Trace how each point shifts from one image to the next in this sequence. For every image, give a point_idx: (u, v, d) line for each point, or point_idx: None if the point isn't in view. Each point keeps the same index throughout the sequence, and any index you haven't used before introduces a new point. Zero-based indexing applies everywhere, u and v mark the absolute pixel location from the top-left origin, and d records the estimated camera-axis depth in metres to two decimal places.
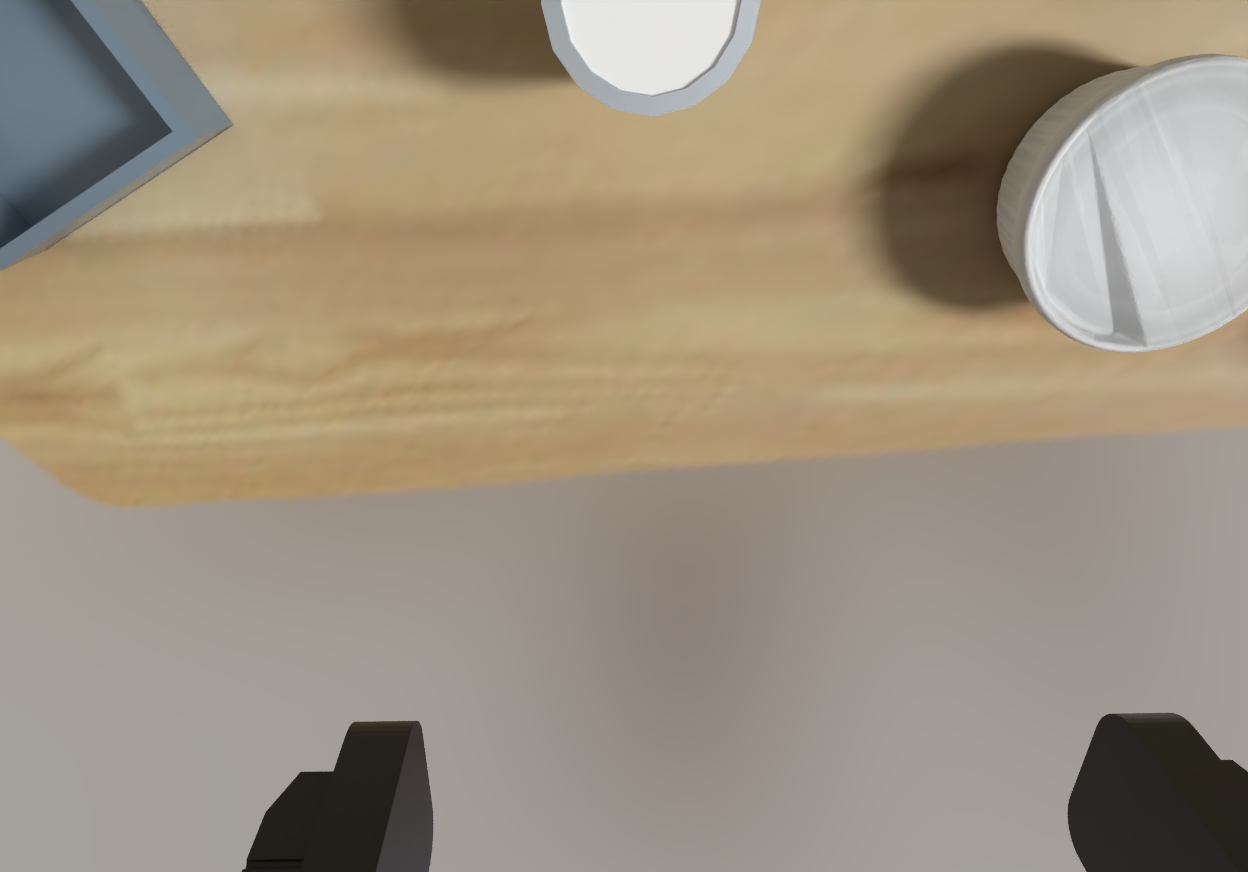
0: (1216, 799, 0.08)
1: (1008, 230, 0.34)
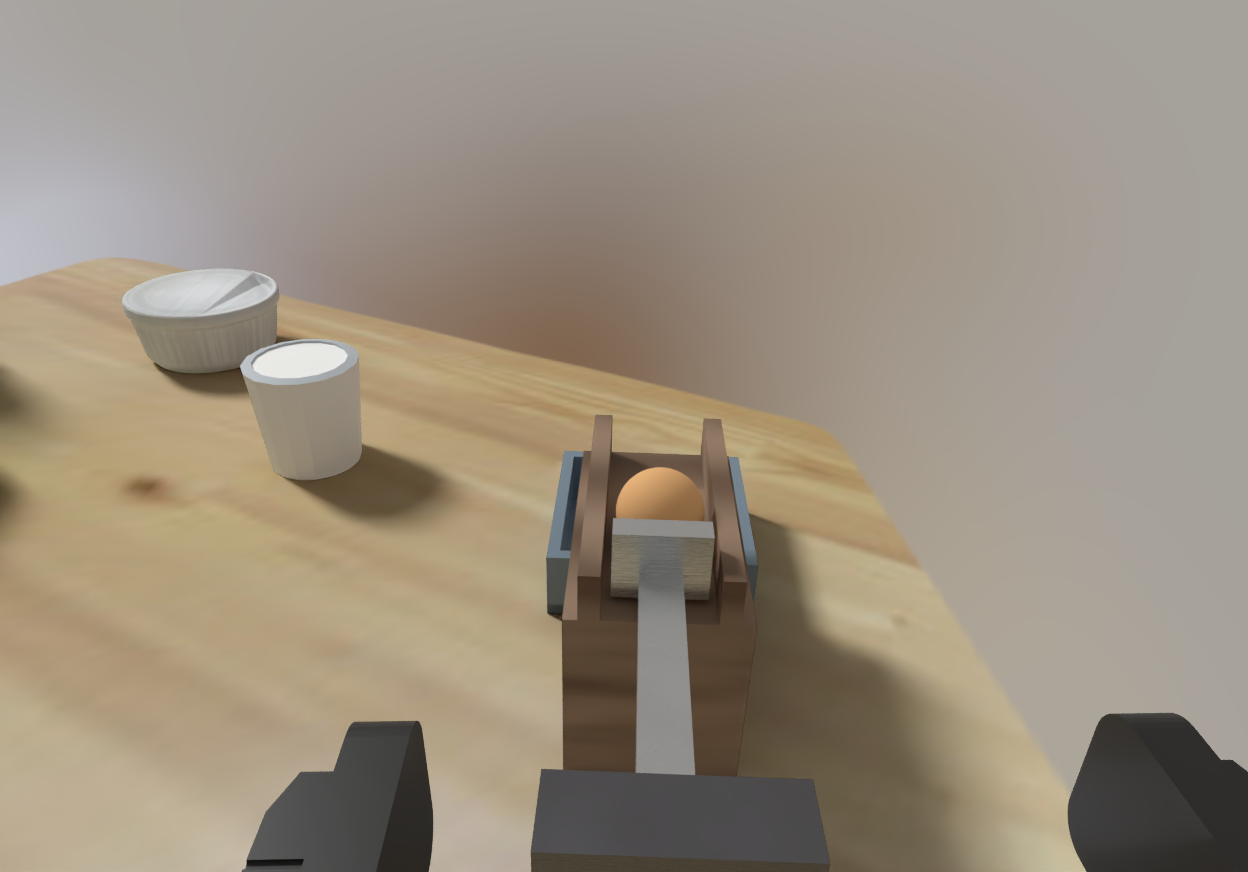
0: (1216, 800, 0.08)
1: (262, 329, 0.66)
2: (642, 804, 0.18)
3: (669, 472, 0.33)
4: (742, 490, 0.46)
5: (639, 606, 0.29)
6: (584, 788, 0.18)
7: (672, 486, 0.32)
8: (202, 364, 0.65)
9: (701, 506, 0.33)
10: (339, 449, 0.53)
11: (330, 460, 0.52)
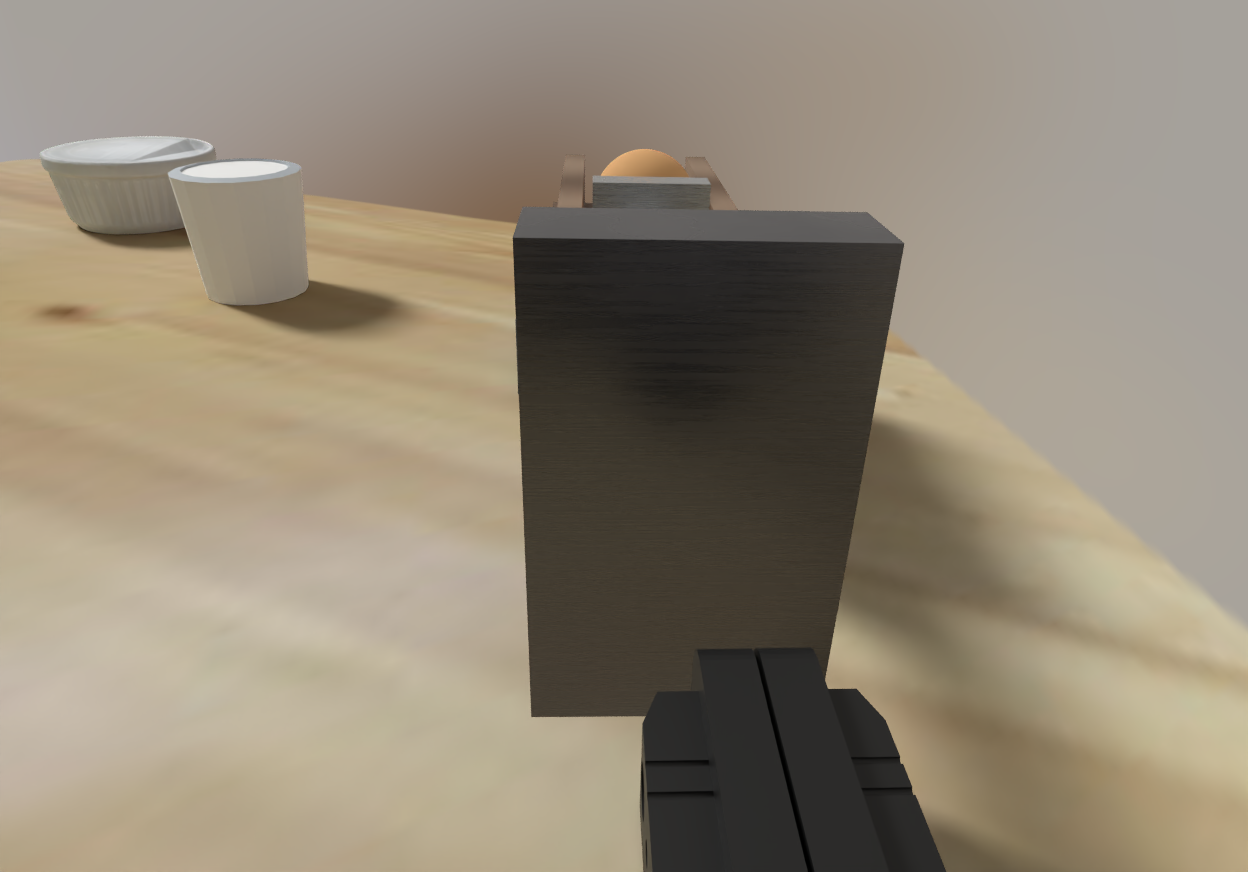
0: (804, 719, 0.09)
1: None
2: (655, 220, 0.14)
3: (654, 150, 0.29)
4: None
5: None
6: (579, 214, 0.14)
7: (658, 158, 0.28)
8: (131, 222, 0.59)
9: None
10: (282, 270, 0.48)
11: (273, 282, 0.48)
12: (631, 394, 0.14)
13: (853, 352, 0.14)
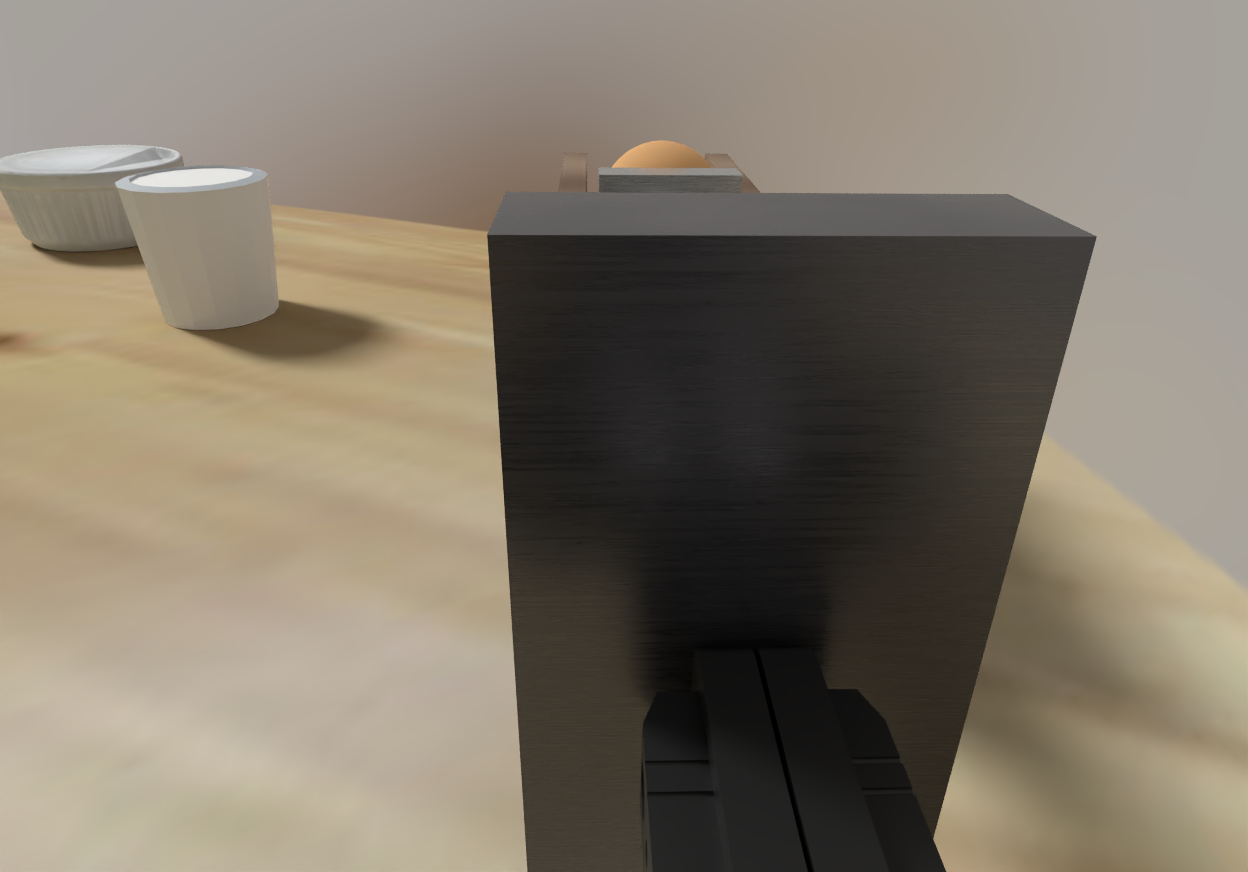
0: (804, 718, 0.09)
1: None
2: (703, 207, 0.09)
3: None
4: None
5: None
6: (589, 200, 0.10)
7: (678, 150, 0.23)
8: (88, 238, 0.54)
9: None
10: (247, 290, 0.42)
11: (236, 303, 0.42)
12: (671, 467, 0.09)
13: (1005, 402, 0.09)
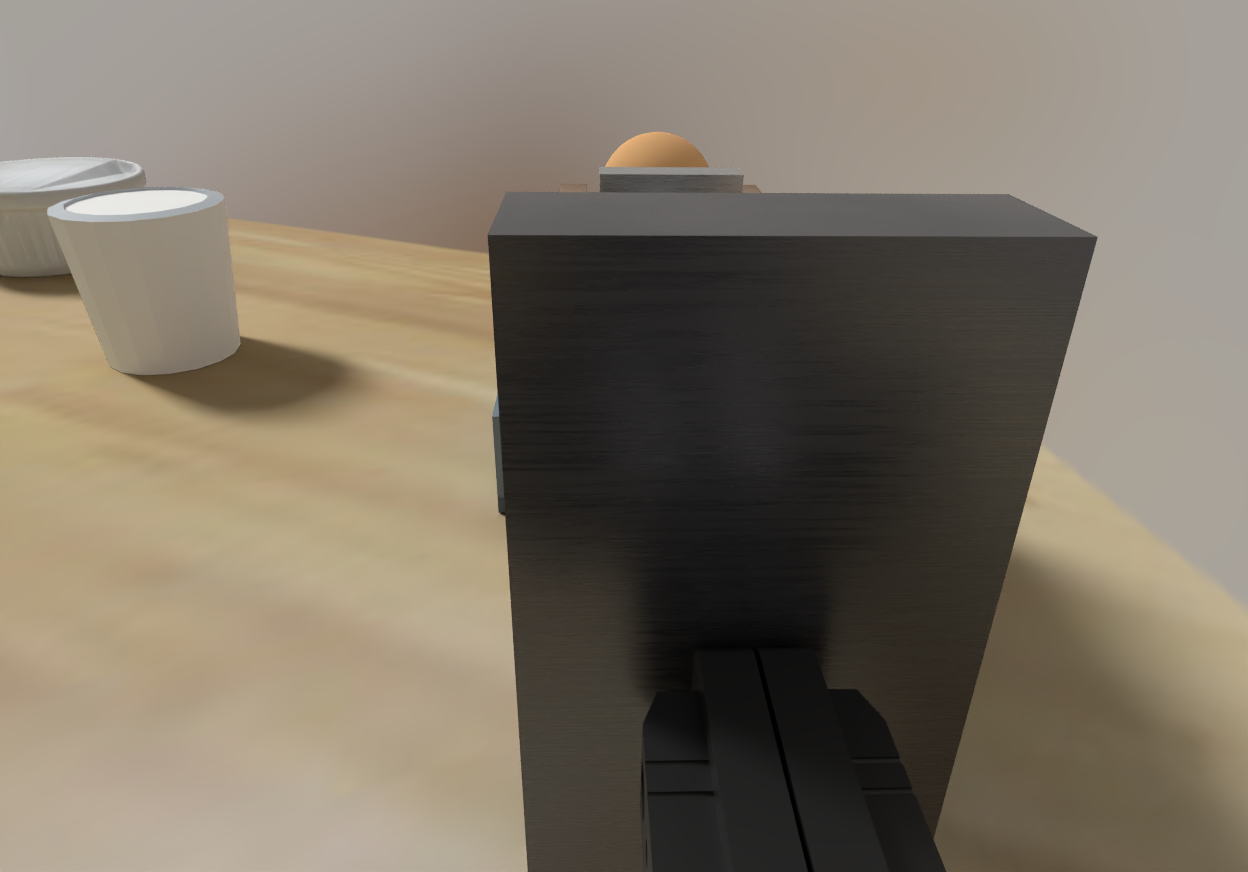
0: (804, 718, 0.09)
1: None
2: (704, 207, 0.09)
3: None
4: None
5: None
6: (589, 201, 0.10)
7: None
8: (37, 262, 0.49)
9: None
10: (201, 329, 0.37)
11: (188, 345, 0.37)
12: (671, 468, 0.09)
13: (1005, 402, 0.09)
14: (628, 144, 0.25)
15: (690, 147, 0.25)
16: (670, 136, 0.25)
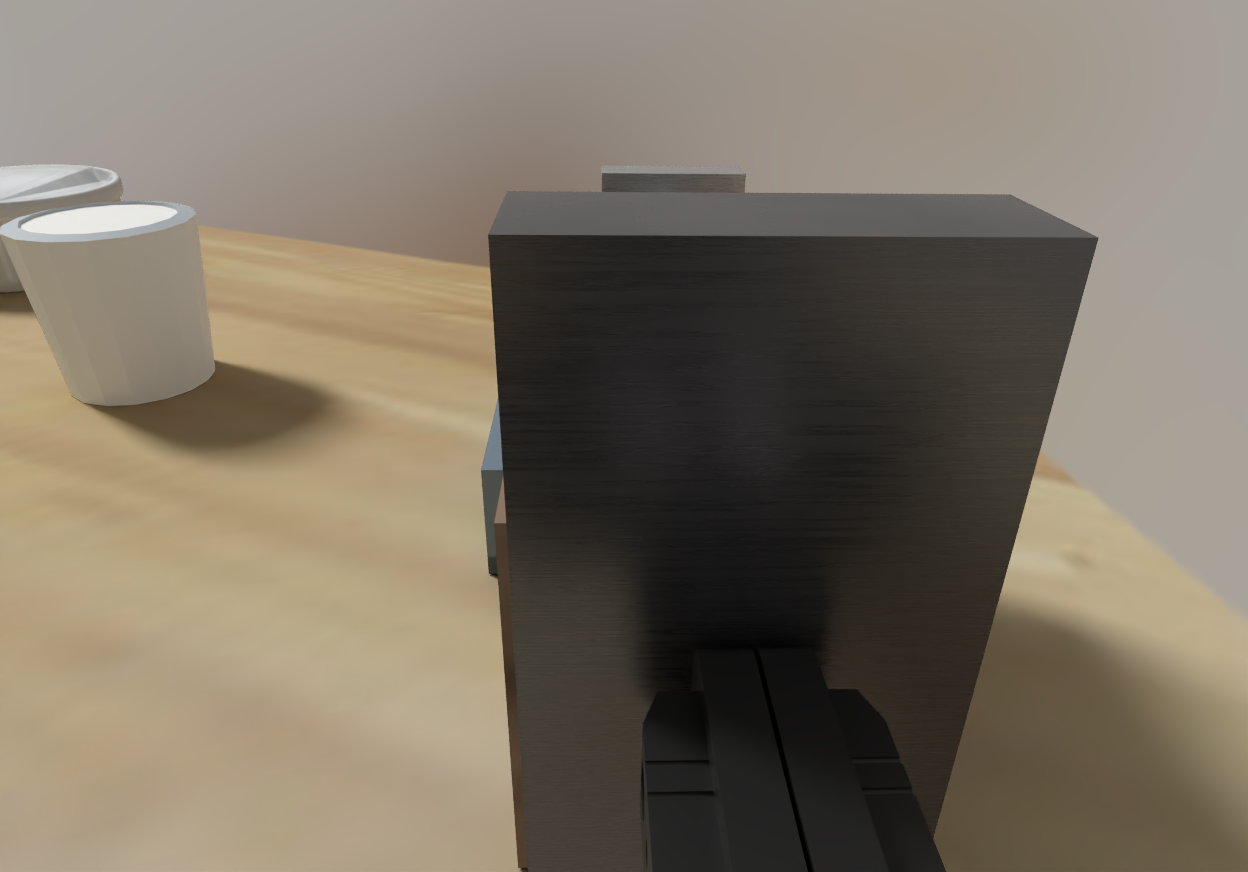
0: (804, 719, 0.09)
1: None
2: (704, 207, 0.09)
3: None
4: None
5: None
6: (590, 200, 0.10)
7: None
8: (4, 277, 0.46)
9: None
10: (170, 357, 0.34)
11: (156, 374, 0.34)
12: (671, 467, 0.09)
13: (1006, 403, 0.09)
14: None
15: None
16: None
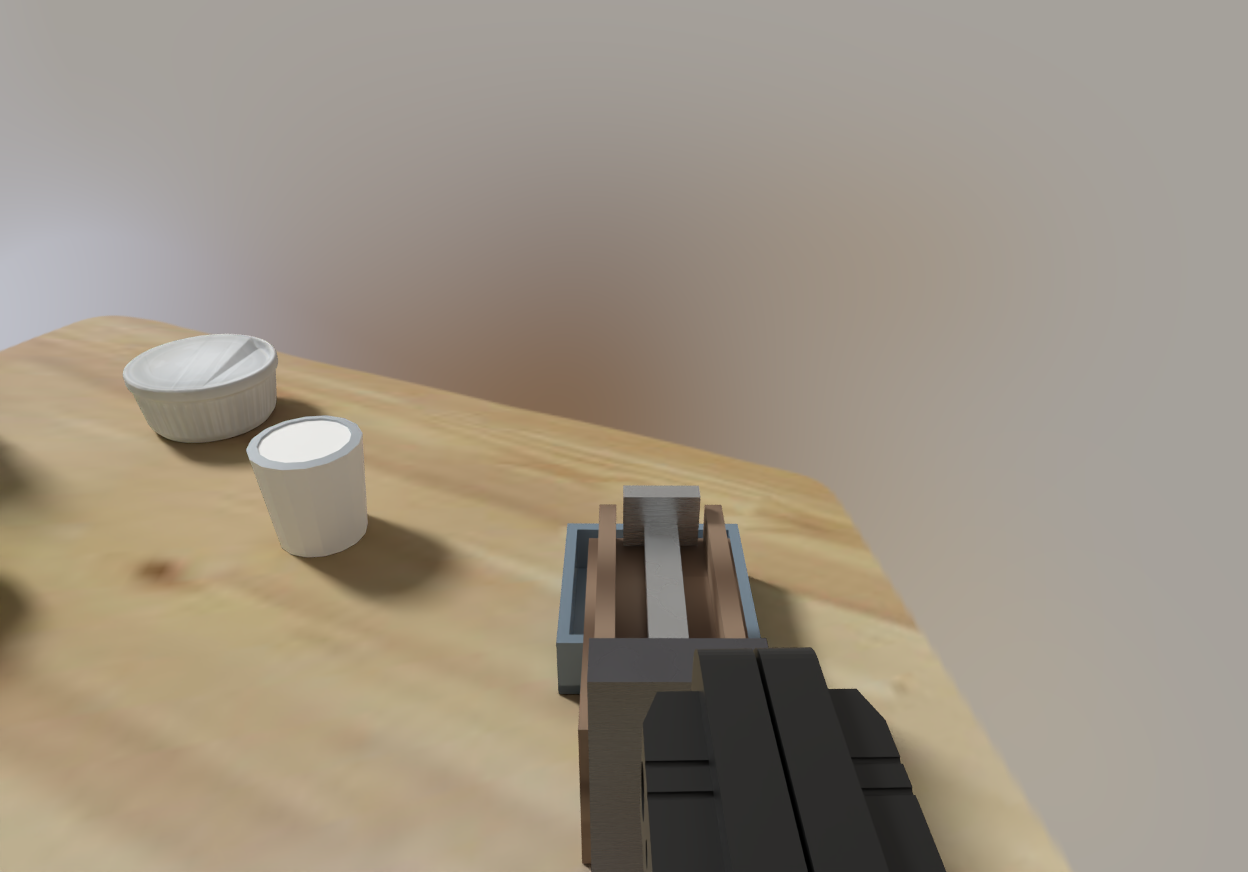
0: (803, 717, 0.09)
1: (262, 396, 0.67)
2: (656, 655, 0.28)
3: None
4: (743, 560, 0.48)
5: (645, 549, 0.39)
6: (618, 647, 0.28)
7: None
8: (204, 434, 0.65)
9: None
10: (346, 525, 0.54)
11: (338, 537, 0.53)
12: None
13: None
14: None
15: None
16: None
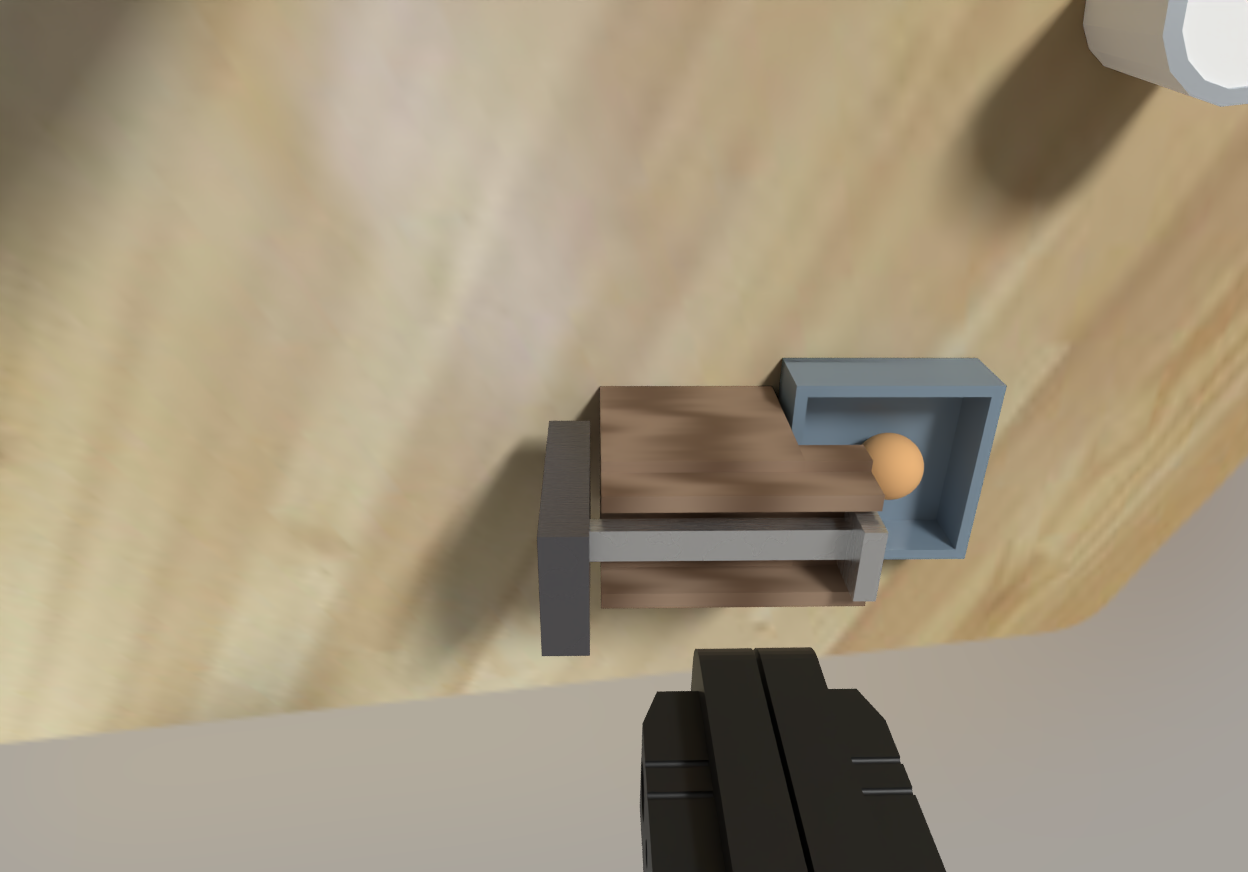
0: (803, 718, 0.09)
1: None
2: (569, 583, 0.34)
3: (915, 484, 0.43)
4: (898, 557, 0.45)
5: (810, 530, 0.37)
6: (577, 557, 0.33)
7: (901, 489, 0.43)
8: None
9: (886, 499, 0.44)
10: (1114, 63, 0.36)
11: (1100, 50, 0.36)
12: None
13: None
14: None
15: None
16: None
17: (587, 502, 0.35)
